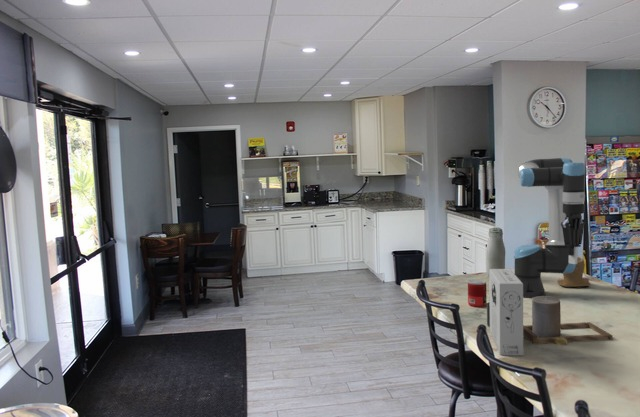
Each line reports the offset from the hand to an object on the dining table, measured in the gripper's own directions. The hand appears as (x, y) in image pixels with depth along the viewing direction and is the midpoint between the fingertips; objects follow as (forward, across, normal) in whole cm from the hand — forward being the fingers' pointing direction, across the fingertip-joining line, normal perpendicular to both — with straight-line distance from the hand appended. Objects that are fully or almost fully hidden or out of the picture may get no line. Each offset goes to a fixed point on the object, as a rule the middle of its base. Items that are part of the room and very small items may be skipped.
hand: (572, 263), depth 193 cm
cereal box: (+25, -36, +3) cm, 44 cm away
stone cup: (+25, +52, +30) cm, 65 cm away
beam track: (+24, -13, -4) cm, 28 cm away
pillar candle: (+25, -18, -1) cm, 31 cm away
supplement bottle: (+25, -24, +17) cm, 38 cm away
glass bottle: (+25, +36, +65) cm, 78 cm away
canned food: (+25, -8, +40) cm, 48 cm away
